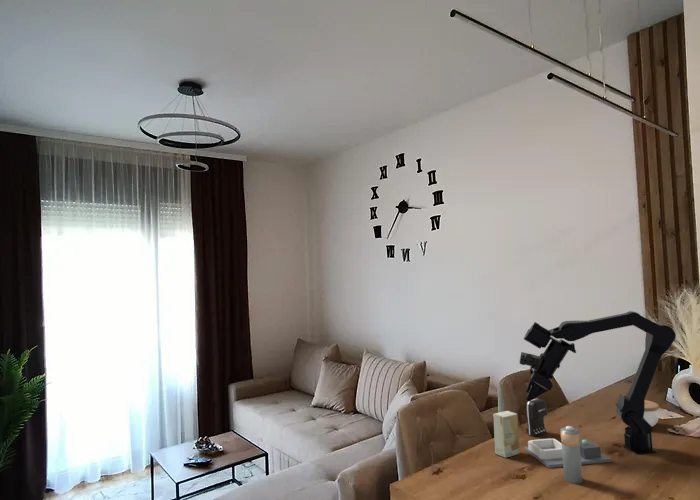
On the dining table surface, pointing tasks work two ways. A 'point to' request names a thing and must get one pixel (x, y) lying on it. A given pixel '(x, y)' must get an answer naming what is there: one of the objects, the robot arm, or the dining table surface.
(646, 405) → the lidded jar
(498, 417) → the skincare box
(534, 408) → the battery charger
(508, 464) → the dining table surface
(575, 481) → the big cell
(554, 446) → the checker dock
